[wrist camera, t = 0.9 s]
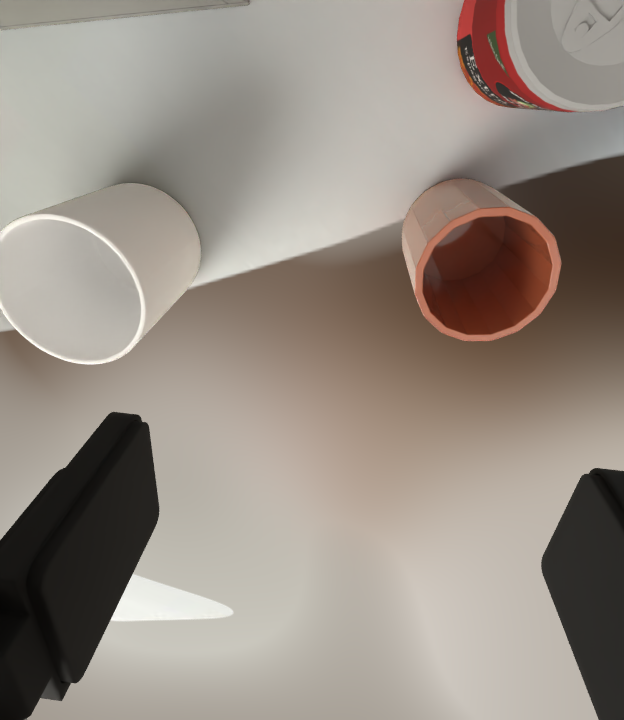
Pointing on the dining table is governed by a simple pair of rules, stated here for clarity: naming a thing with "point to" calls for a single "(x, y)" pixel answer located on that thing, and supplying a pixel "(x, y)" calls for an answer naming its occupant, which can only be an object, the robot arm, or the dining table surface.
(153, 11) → the dark grey open box
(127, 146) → the dining table surface
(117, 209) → the cup
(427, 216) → the terracotta cup
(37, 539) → the robot arm
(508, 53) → the canned food
